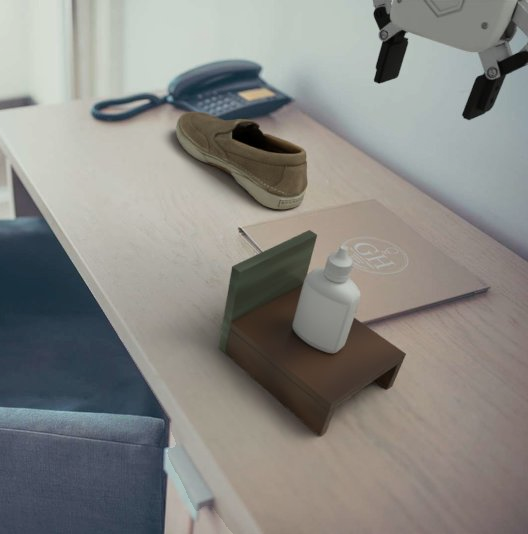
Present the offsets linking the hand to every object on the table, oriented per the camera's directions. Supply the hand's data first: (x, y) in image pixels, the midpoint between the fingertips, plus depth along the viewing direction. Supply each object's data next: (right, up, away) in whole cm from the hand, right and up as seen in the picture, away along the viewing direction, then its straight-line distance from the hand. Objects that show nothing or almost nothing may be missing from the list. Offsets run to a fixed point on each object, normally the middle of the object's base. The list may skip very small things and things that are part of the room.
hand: (427, 97), depth 62 cm
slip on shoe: (-11, 0, +46) cm, 47 cm away
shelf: (-9, -28, +10) cm, 31 cm away
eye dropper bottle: (-9, -24, +7) cm, 27 cm away
